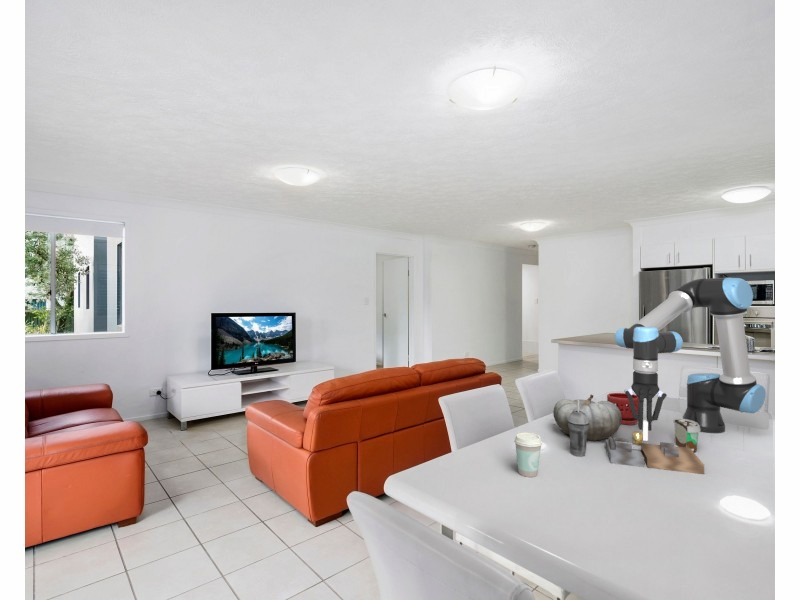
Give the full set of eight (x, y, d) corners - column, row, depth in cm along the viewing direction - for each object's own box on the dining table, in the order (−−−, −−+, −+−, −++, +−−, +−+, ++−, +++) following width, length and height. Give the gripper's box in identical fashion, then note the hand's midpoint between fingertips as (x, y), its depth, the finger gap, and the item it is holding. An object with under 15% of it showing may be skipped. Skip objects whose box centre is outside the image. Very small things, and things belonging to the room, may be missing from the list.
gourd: (615, 445, 158) (608, 396, 160) (547, 442, 172) (542, 397, 175) (629, 434, 177) (623, 391, 180) (567, 433, 192) (562, 393, 195)
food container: (707, 456, 154) (707, 428, 154) (687, 454, 156) (688, 426, 155) (691, 444, 166) (691, 418, 166) (673, 443, 168) (673, 417, 167)
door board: (689, 456, 154) (689, 441, 154) (704, 474, 139) (704, 457, 139) (605, 447, 163) (605, 432, 163) (610, 463, 148) (610, 447, 148)
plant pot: (640, 420, 197) (641, 394, 197) (638, 428, 186) (638, 400, 186) (609, 416, 204) (609, 390, 204) (605, 423, 193) (605, 396, 193)
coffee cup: (527, 481, 134) (527, 442, 134) (508, 471, 142) (508, 434, 141) (547, 475, 138) (548, 438, 138) (528, 466, 146) (528, 430, 145)
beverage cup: (589, 452, 158) (589, 397, 157) (588, 459, 151) (589, 402, 151) (568, 449, 161) (568, 395, 161) (566, 456, 154) (566, 399, 154)
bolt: (641, 447, 153) (641, 431, 153) (643, 450, 150) (643, 434, 150) (614, 445, 156) (614, 429, 156) (615, 447, 153) (615, 431, 153)
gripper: (626, 372, 150) (625, 440, 150) (669, 374, 145) (668, 444, 146) (622, 368, 157) (622, 433, 157) (664, 370, 153) (663, 437, 153)
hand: (644, 439), depth 152 cm, fingers closed
